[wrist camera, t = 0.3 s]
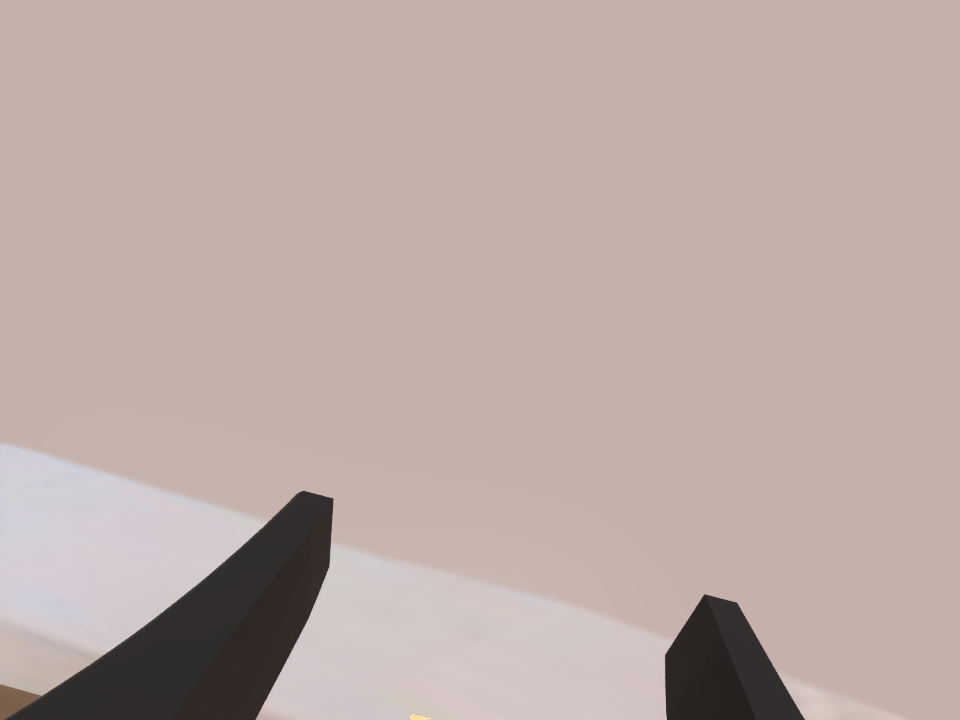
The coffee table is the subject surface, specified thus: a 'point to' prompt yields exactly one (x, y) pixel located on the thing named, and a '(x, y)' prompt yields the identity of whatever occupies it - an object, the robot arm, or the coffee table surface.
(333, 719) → the coffee table surface
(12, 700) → the walnut coin box
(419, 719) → the tan flat rectangular block
